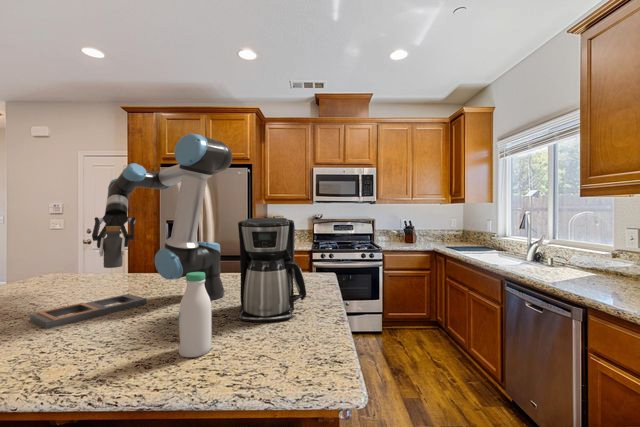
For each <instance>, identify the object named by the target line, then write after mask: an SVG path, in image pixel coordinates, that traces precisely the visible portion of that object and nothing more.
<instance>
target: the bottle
mask: <svg viewBox="0 0 640 427" xmlns="http://www.w3.org/2000/svg"><path fill="white" fill-rule="evenodd" d="M106 230H107V231H106V232H105V234H106V236H105V238H104V250H103V268H104V269H105V268H106V269H112V268H113V269H114V268H115V269H116V268H120V267H123V256H124V255H122V254H121V248H122V237H123V236H121V235H122V231H121V226H107V227H106Z"/></svg>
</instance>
